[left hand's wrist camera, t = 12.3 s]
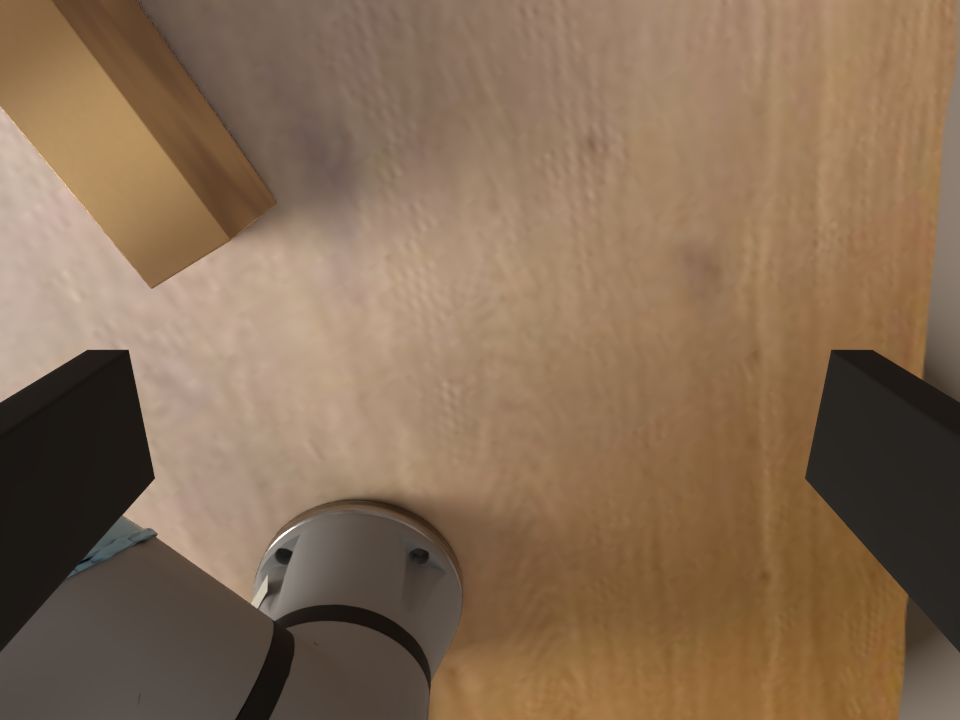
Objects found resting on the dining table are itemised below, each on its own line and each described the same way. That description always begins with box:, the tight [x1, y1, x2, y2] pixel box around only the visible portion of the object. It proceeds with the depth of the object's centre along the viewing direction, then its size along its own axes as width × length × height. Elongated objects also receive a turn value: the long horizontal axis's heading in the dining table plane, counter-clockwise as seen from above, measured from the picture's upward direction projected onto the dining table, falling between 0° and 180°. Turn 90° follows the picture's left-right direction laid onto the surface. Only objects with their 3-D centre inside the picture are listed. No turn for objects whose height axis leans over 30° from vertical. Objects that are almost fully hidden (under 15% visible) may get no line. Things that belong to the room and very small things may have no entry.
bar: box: [0, 0, 277, 288], centre depth 31 cm, size 23×5×9 cm, turn 29°
